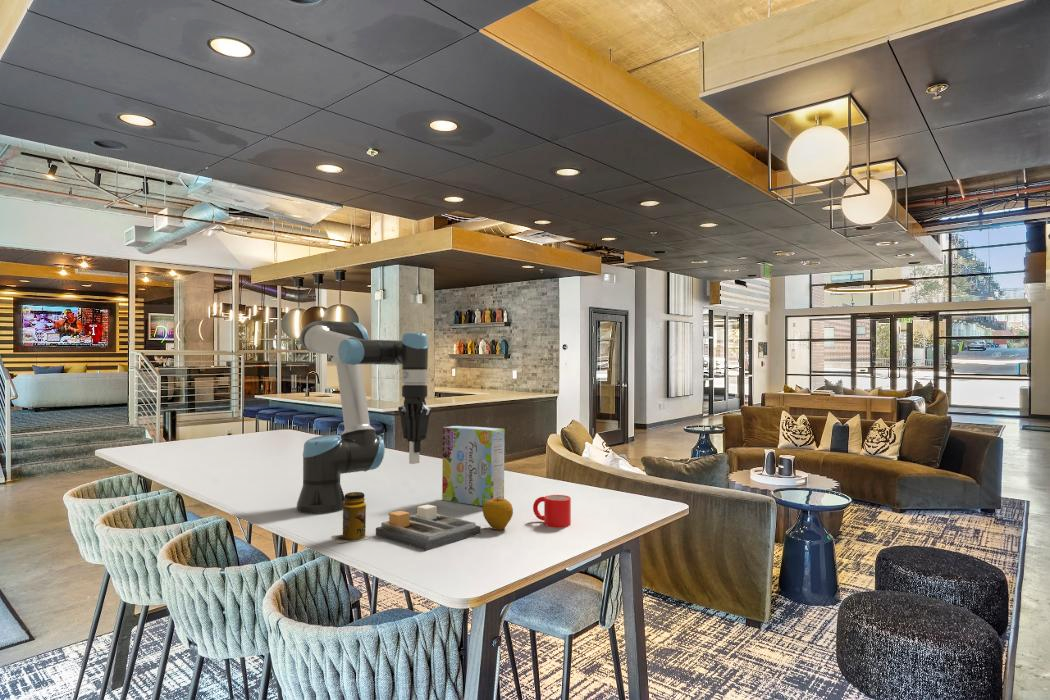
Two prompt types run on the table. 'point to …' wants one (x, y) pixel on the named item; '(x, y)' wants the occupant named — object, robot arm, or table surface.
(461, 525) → the grey slotted tray
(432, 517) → the block
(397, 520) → the fader orange
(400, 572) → the table surface
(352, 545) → the table surface
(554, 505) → the mug
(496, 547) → the table surface
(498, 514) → the apple
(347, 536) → the condiment
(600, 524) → the table surface
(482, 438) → the snack box
